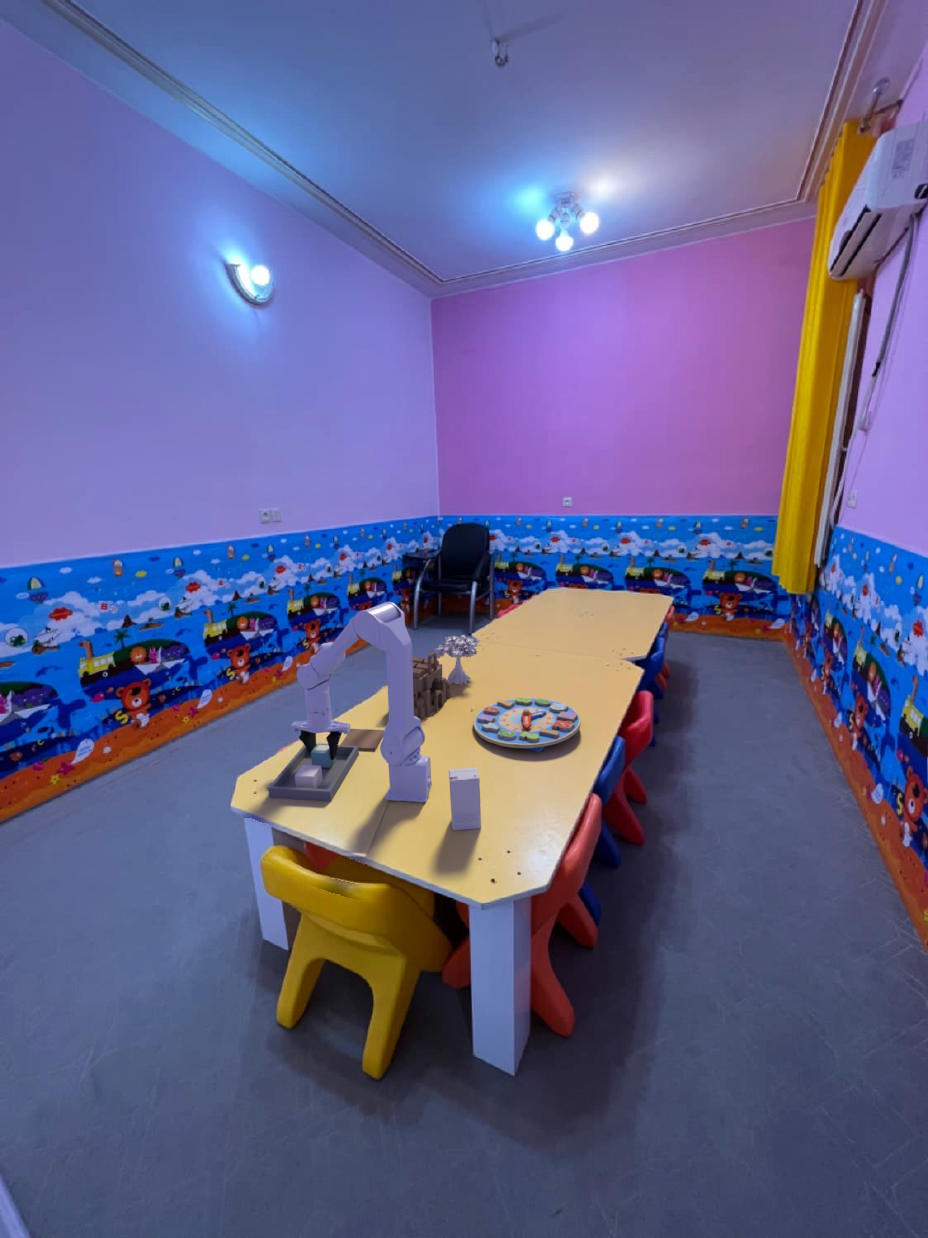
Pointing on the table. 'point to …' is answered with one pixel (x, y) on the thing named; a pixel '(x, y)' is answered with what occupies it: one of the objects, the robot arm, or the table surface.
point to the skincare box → (465, 798)
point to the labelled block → (321, 755)
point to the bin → (331, 776)
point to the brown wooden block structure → (428, 686)
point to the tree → (457, 655)
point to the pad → (363, 739)
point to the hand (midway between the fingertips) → (324, 757)
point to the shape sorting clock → (527, 723)
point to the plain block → (309, 776)
